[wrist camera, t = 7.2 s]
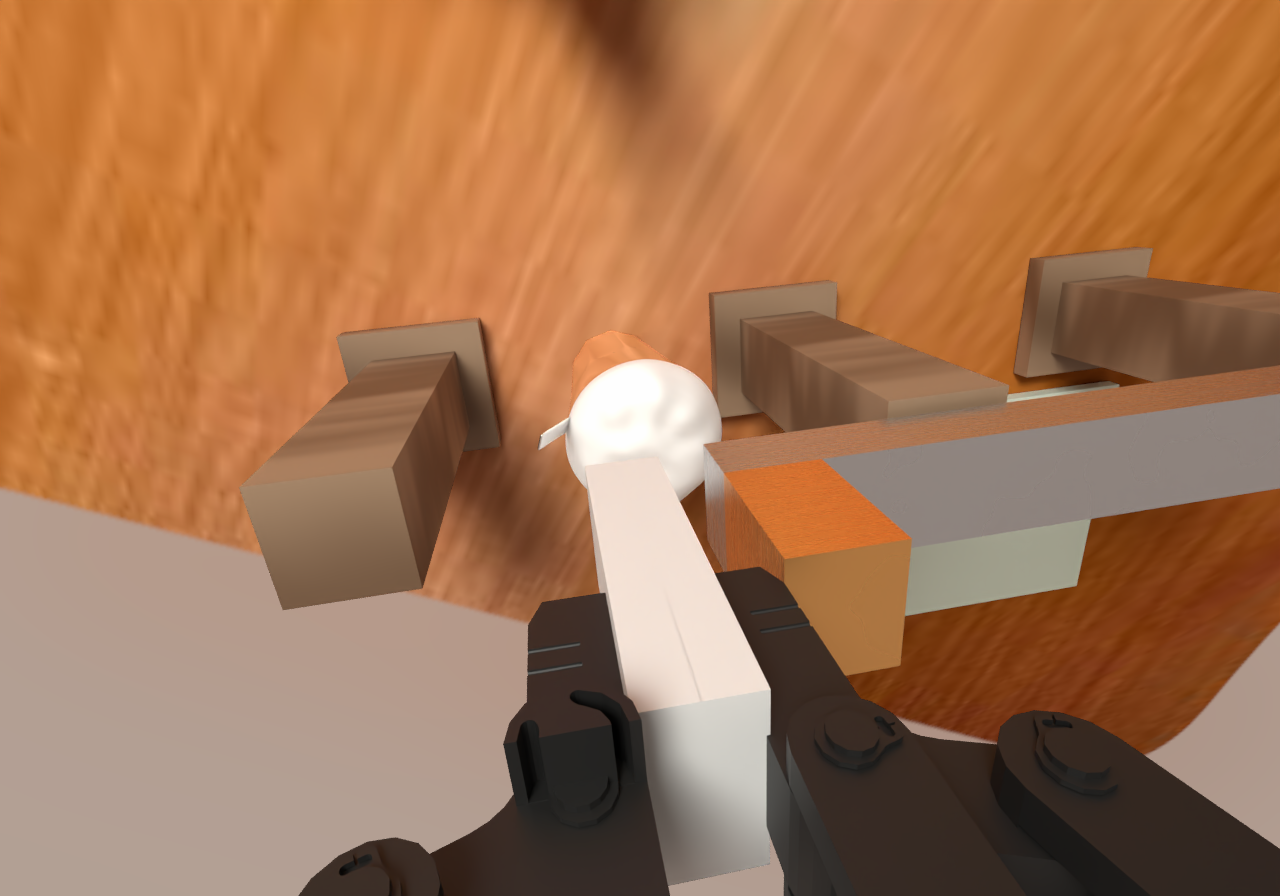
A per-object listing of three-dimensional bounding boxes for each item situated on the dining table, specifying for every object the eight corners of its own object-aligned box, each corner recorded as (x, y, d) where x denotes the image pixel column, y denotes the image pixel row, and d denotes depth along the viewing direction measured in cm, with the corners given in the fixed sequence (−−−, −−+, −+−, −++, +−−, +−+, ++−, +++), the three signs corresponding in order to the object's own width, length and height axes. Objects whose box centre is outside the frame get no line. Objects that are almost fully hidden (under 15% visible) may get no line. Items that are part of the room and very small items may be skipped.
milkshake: (549, 295, 24) (558, 353, 15) (680, 328, 25) (765, 399, 16) (525, 406, 25) (521, 522, 16) (651, 432, 27) (712, 552, 17)
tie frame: (342, 332, 23) (168, 448, 12) (1136, 246, 27) (1553, 276, 16) (374, 456, 25) (249, 654, 14) (1112, 359, 29) (1472, 456, 18)
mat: (887, 410, 28) (894, 414, 27) (1108, 380, 29) (1119, 384, 29) (873, 613, 32) (879, 620, 32) (1067, 579, 33) (1076, 586, 33)
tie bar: (703, 443, 14) (784, 559, 9) (1402, 348, 16) (1745, 405, 11) (707, 539, 14) (783, 687, 10) (1368, 437, 17) (1672, 522, 12)
